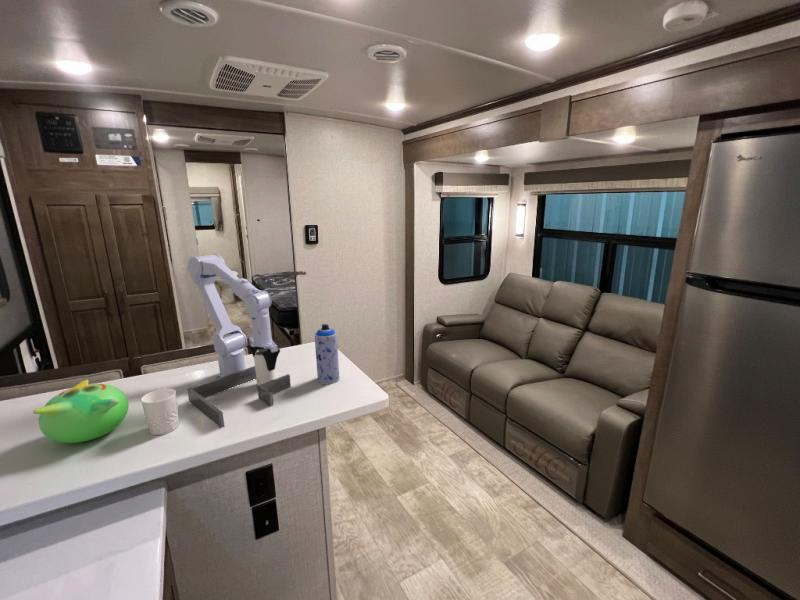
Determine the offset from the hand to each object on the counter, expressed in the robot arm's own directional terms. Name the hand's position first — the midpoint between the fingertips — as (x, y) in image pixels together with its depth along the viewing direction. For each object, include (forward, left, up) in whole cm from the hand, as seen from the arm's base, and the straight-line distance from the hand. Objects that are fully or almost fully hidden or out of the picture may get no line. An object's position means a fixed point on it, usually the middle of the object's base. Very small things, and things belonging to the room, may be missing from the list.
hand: (265, 366), depth 125 cm
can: (0, 0, -7) cm, 7 cm away
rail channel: (+3, -9, -6) cm, 11 cm away
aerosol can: (+13, +16, -7) cm, 22 cm away
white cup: (+2, -32, -7) cm, 33 cm away
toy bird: (-9, -46, -7) cm, 47 cm away
